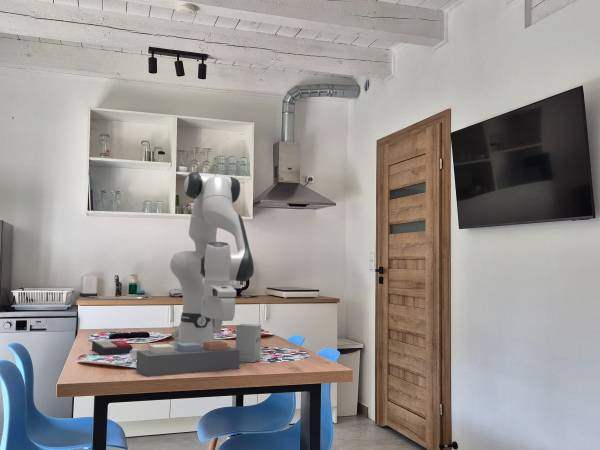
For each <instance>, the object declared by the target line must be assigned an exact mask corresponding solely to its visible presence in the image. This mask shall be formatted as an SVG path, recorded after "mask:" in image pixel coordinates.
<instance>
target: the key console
mask: <svg viewBox="0 0 600 450" xmlns="http://www.w3.org/2000/svg"><path fill="white" fill-rule="evenodd" d="M135 363H136V367H135V370H136V371H137V372H139V373H140V374H142V375H144V376H146V377H159V376H161V377H162V376H169V375H182V374H193V373H194V374H195V372H196V373H207V372H206V371H208V372H216V371H218V370H220V371H229V370H228V369H232V370H239V369H240V361H239V350H237V349H236V348H234V347H230V346H228V345H227V350H214V351H209V350H206V349H203V347H201V351H198V352H183V353H182V352H180V351H178V350H177V348H174V353H167V354H152V353H150V352H149V349H145V350H144V349H143V350H142V349H141V351H137V361H135Z"/></svg>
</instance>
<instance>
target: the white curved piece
mask: <svg viewBox="0 0 600 450" xmlns="http://www.w3.org/2000/svg"><path fill="white" fill-rule="evenodd" d="M141 350H142V349H141V348H133V349H132V350H131V351H132V354H131V351H130V354H129V355H130V357H131V358H125V359H124V361H125V362H126V360H128V359H130V360H128V362H127V363H133V362H136V360H137V351H141ZM131 360H132V361H131ZM133 360H134V361H133Z"/></svg>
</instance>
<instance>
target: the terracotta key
mask: <svg viewBox="0 0 600 450" xmlns="http://www.w3.org/2000/svg"><path fill="white" fill-rule="evenodd" d="M227 346H228V343H227V342H224V341H221V340H219V341H218V340H215V341H213V342H203V349H206V350H209V351H214V350H227Z"/></svg>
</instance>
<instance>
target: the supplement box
mask: <svg viewBox="0 0 600 450" xmlns="http://www.w3.org/2000/svg"><path fill="white" fill-rule="evenodd" d="M235 333H236V334H235V336H236V337H235V349H237V350H239V363H240V362H242V363H256V362H257V361H259V360H261V339H262V338H261V337H262V324H260V323H240V324H237V325H236V329H235Z"/></svg>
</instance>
